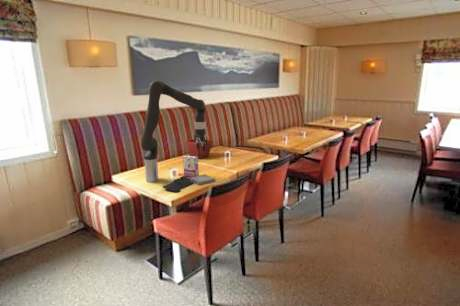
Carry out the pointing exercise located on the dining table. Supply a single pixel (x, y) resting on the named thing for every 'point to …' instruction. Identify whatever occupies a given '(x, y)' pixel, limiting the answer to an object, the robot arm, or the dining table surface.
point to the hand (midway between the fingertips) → (200, 149)
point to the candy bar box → (190, 166)
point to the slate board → (202, 179)
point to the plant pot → (198, 152)
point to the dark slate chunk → (178, 184)
